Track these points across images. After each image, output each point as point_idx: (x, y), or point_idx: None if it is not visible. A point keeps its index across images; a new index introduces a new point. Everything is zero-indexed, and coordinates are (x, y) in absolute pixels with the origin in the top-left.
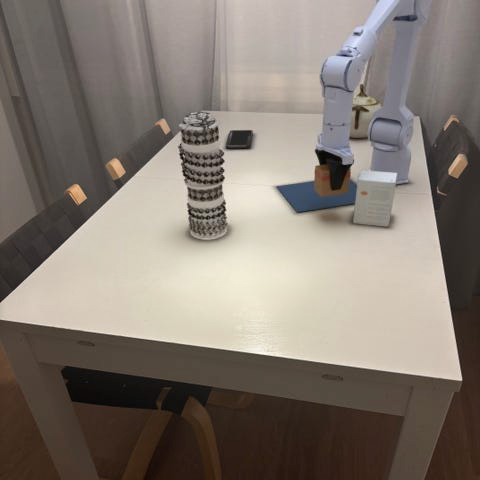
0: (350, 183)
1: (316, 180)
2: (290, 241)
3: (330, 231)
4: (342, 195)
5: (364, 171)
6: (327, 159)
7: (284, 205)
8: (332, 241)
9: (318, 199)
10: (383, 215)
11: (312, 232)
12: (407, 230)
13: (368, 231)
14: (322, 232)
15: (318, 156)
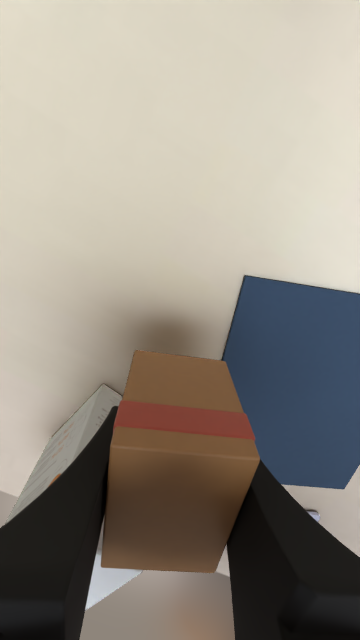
0: (304, 478)
1: (206, 391)
2: (56, 134)
3: (80, 306)
4: (258, 435)
5: (119, 575)
6: (39, 606)
7: (321, 265)
8: (15, 278)
9: (279, 374)
10: (44, 455)
11: (94, 251)
12: (24, 460)
13: (46, 392)
14: (83, 281)
15: (298, 545)
